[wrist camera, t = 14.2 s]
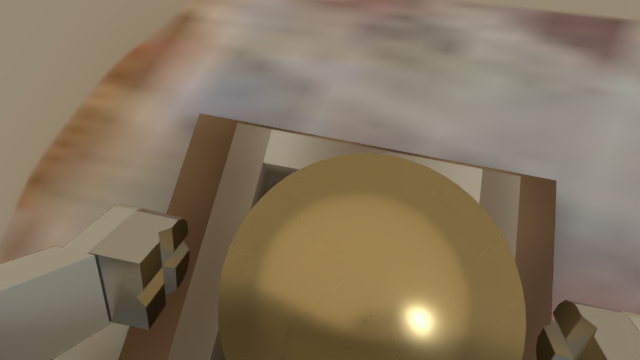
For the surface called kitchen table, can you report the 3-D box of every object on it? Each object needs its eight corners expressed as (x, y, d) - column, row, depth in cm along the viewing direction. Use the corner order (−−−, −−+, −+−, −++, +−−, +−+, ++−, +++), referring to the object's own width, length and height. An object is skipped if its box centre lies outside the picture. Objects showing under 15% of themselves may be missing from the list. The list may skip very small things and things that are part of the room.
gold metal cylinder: (422, 241, 14) (531, 179, 7) (406, 384, 13) (520, 517, 5) (296, 217, 15) (258, 132, 7) (266, 352, 13) (178, 433, 6)
